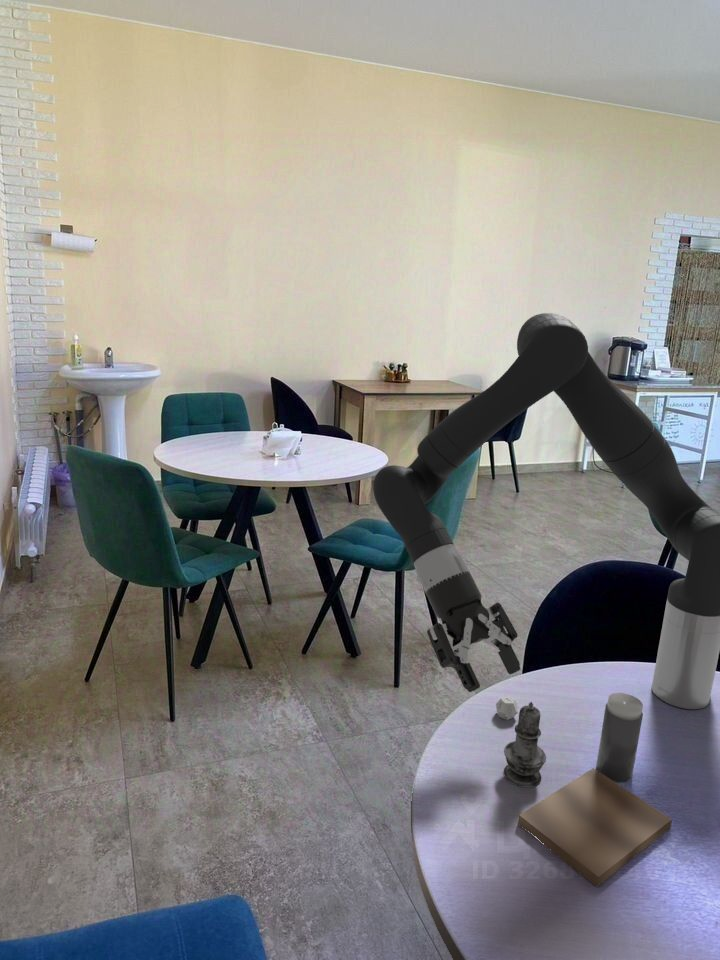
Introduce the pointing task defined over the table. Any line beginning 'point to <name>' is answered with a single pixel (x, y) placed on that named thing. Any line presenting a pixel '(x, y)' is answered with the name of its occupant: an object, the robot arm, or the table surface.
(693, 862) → the table surface
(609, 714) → the grey cylinder
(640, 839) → the walnut board
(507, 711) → the game die
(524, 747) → the grey chess piece
